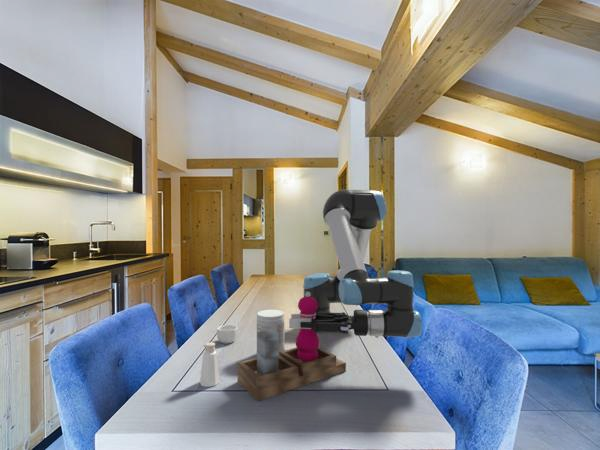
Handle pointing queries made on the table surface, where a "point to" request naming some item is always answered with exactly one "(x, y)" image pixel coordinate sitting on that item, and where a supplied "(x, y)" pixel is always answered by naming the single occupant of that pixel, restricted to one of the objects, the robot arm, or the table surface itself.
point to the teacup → (227, 333)
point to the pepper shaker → (209, 366)
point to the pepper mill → (307, 330)
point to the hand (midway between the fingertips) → (290, 320)
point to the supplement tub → (272, 324)
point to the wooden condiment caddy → (282, 368)
